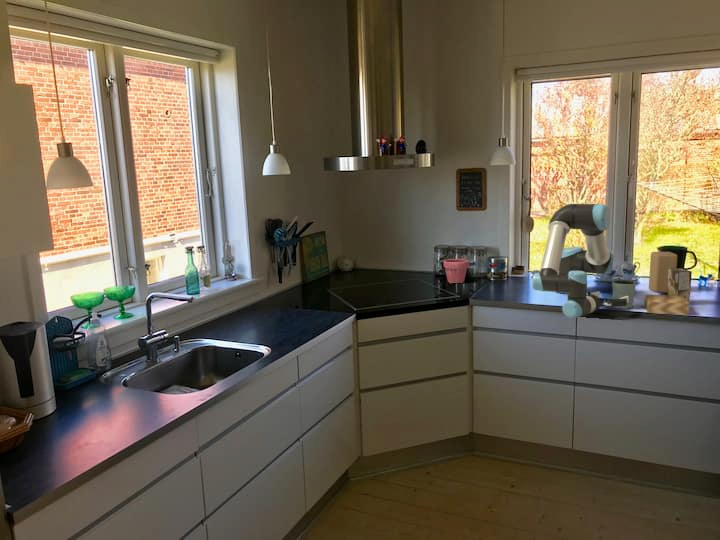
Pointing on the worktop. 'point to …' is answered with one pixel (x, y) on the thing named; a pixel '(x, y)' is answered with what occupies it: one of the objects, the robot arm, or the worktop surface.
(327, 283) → the worktop surface
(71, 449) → the worktop surface
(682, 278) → the coffee box
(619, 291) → the green ceramic cup
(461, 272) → the plant pot
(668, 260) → the wooden block
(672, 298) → the wooden box
